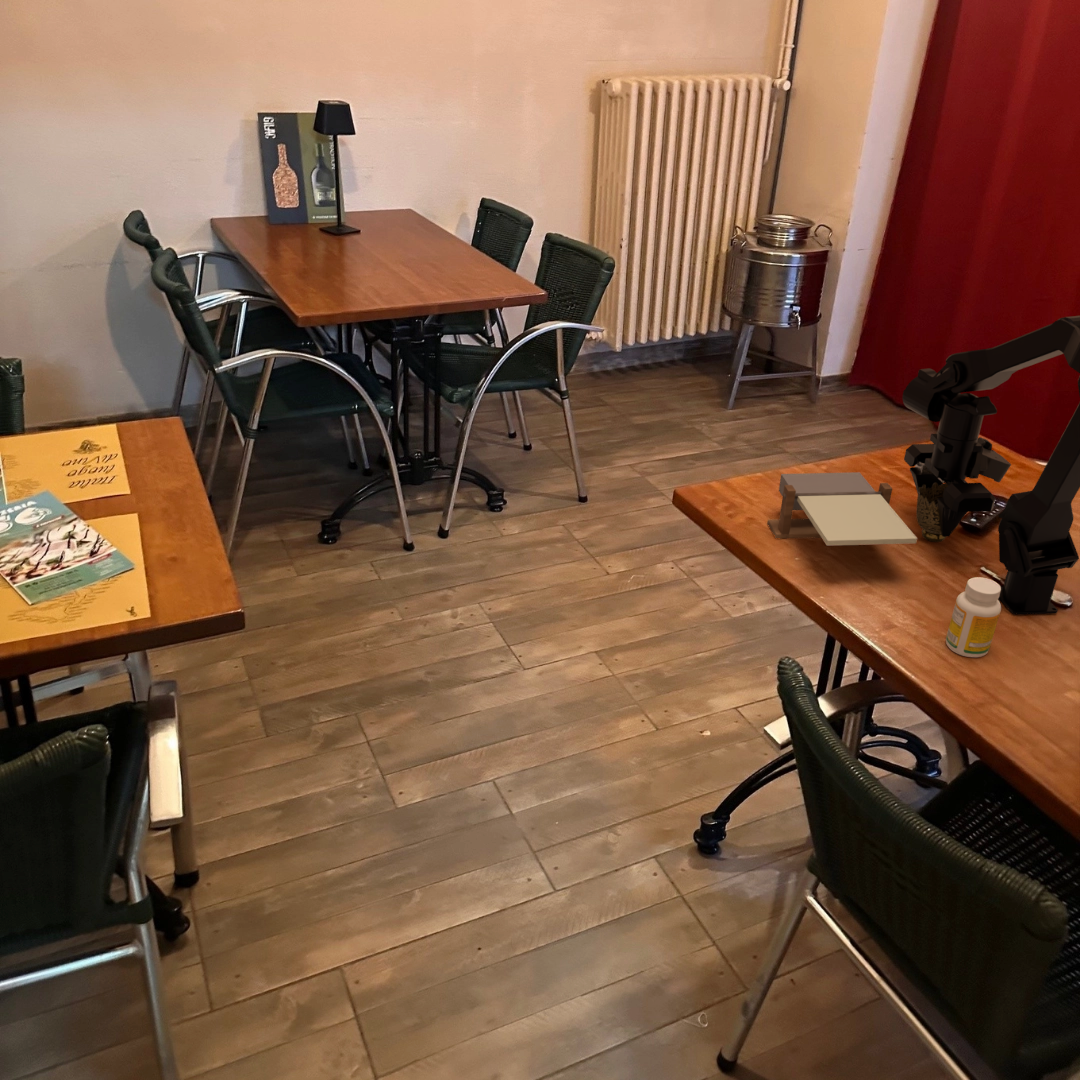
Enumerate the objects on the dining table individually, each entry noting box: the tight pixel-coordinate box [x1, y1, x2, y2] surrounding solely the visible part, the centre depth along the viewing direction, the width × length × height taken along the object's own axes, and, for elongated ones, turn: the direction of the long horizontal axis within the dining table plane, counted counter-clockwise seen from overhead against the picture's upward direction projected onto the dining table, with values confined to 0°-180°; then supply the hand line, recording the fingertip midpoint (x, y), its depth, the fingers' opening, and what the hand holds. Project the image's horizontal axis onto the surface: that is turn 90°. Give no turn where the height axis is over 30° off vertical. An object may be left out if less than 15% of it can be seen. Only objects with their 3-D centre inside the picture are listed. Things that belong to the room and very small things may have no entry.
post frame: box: [766, 482, 893, 540], centre depth 155 cm, size 5×18×8 cm, turn 94°
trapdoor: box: [778, 471, 918, 546], centre depth 150 cm, size 23×13×3 cm, turn 4°
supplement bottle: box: [945, 576, 1002, 658], centre depth 127 cm, size 5×5×10 cm
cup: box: [915, 482, 961, 543], centre depth 153 cm, size 8×7×8 cm
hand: (936, 525), depth 154 cm, fingers closed on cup, 6 cm apart
